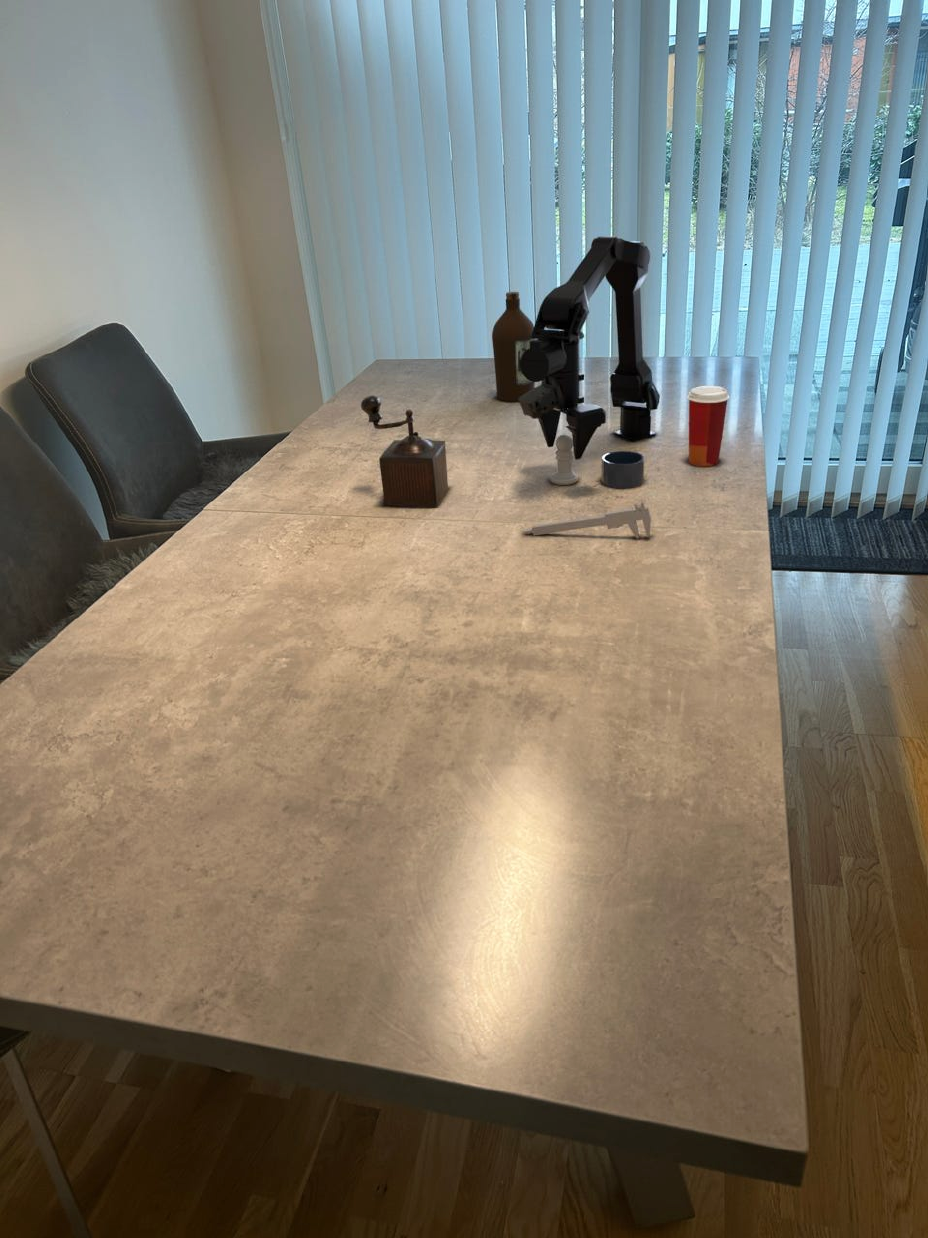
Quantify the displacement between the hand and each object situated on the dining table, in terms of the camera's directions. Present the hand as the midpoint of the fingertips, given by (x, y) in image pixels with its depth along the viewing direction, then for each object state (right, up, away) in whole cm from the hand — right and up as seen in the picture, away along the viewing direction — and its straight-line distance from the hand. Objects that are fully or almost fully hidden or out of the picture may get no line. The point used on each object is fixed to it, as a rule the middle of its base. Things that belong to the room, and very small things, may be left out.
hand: (563, 452), depth 167 cm
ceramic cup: (+11, -5, +1) cm, 12 cm away
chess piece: (0, -5, +3) cm, 6 cm away
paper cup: (+28, 0, +8) cm, 29 cm away
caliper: (+1, -18, -20) cm, 27 cm away
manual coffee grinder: (-30, -8, +1) cm, 31 cm away
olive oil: (-6, +24, +57) cm, 62 cm away
